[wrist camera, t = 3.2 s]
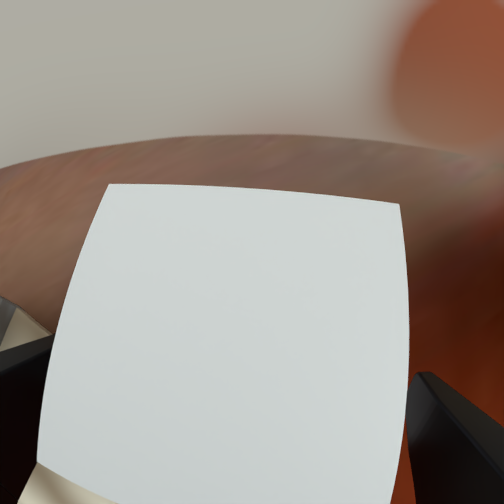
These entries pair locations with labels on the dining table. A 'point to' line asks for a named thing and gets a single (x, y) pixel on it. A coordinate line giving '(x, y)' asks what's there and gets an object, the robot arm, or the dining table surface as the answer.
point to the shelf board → (42, 479)
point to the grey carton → (231, 349)
